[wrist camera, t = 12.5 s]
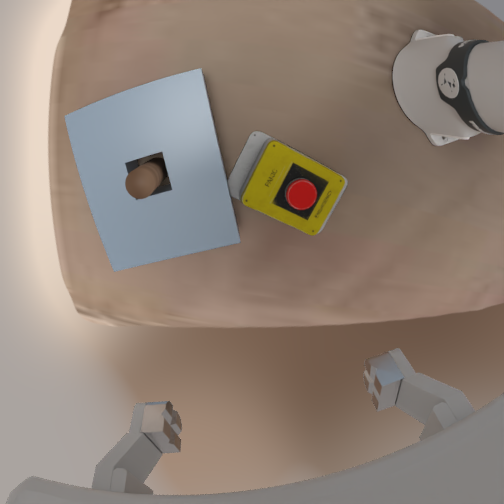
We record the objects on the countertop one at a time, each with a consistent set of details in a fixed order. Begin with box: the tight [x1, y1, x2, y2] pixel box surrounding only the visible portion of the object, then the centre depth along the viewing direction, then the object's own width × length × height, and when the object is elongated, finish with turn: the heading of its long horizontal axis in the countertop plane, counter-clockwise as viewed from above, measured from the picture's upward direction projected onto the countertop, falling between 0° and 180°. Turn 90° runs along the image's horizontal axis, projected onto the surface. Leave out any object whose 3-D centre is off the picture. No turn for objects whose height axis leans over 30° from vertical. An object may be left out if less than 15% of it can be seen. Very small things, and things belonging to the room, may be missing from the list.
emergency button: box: [228, 131, 348, 235], centre depth 38 cm, size 9×4×15 cm
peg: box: [125, 157, 168, 199], centre depth 33 cm, size 3×3×9 cm
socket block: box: [65, 68, 241, 272], centre depth 34 cm, size 17×21×5 cm
